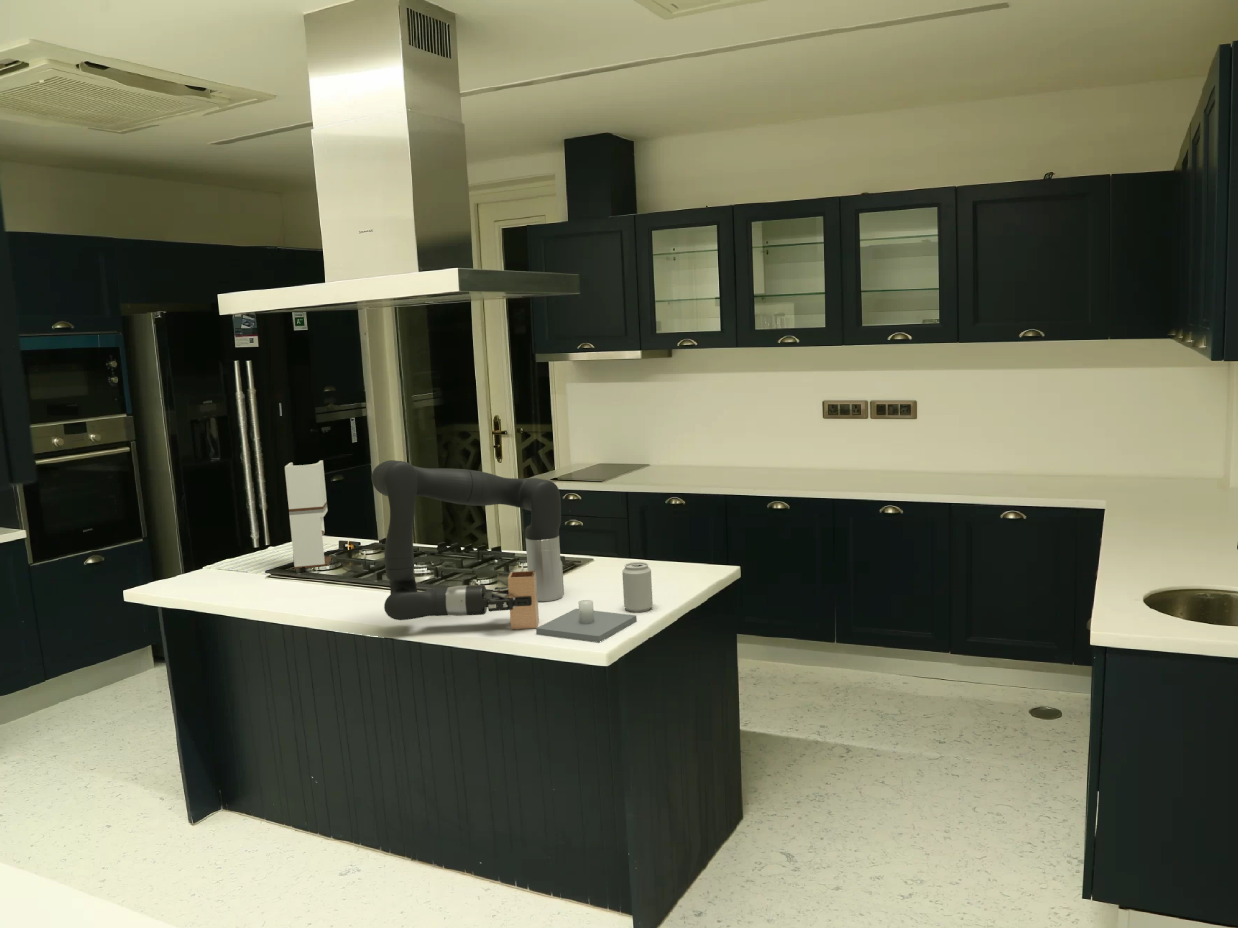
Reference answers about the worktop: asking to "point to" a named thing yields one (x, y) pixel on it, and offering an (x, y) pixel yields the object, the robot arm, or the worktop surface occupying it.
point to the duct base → (586, 623)
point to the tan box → (523, 587)
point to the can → (637, 587)
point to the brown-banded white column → (307, 513)
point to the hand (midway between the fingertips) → (532, 597)
